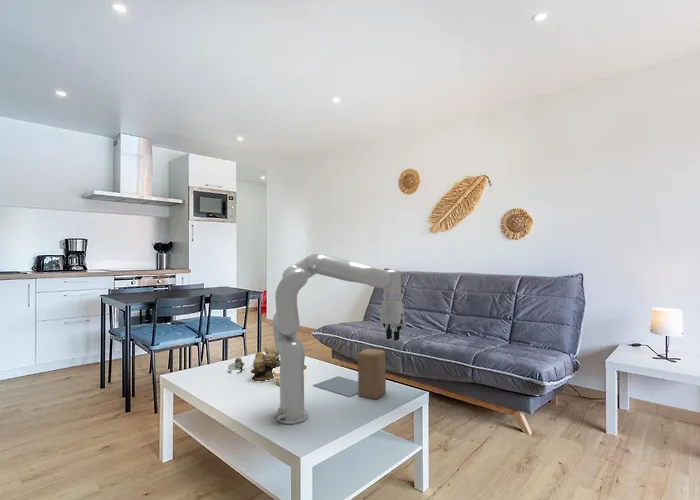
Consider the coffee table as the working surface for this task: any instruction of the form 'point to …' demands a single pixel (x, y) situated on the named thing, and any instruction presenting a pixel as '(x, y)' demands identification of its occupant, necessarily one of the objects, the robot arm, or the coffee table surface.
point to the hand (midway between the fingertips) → (392, 339)
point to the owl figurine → (265, 364)
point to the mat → (340, 386)
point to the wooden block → (371, 373)
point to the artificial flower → (236, 365)
